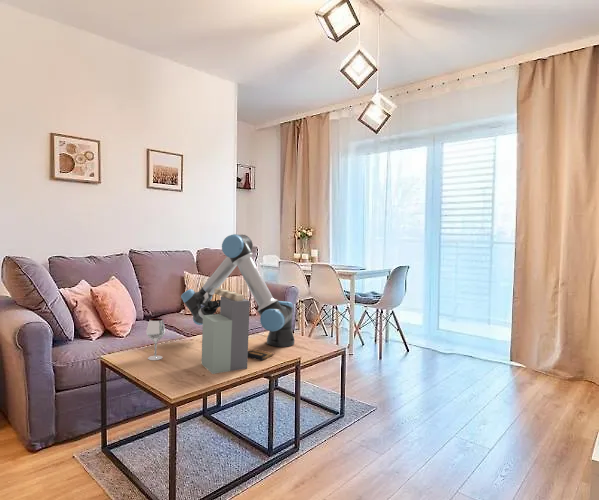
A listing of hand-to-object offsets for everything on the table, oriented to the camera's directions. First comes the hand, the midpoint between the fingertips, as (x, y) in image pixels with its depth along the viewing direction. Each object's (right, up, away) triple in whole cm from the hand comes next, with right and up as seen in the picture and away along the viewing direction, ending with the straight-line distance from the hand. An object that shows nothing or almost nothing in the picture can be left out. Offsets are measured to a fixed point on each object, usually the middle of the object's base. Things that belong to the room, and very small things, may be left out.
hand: (221, 294), depth 192 cm
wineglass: (-29, -29, -6) cm, 42 cm away
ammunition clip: (+15, -29, -1) cm, 33 cm away
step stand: (+4, -31, -13) cm, 33 cm away
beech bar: (+5, 0, -8) cm, 9 cm away
